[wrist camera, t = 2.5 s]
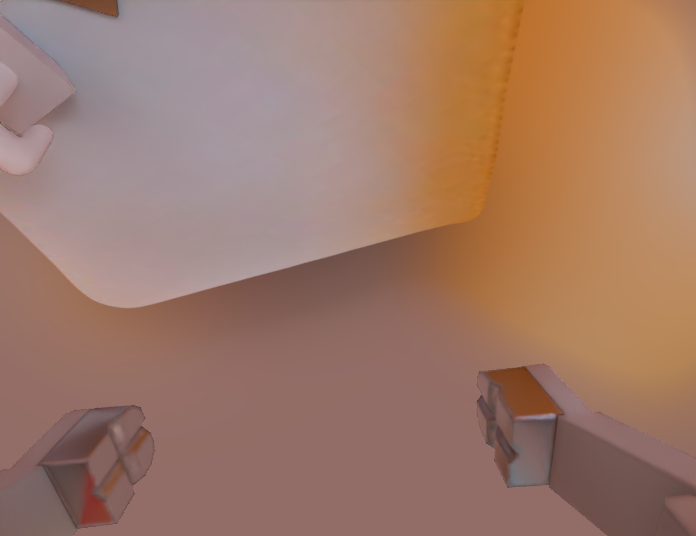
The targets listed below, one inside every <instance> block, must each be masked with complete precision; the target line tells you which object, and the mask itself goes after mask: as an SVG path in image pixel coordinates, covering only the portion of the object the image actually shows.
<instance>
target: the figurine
mask: <svg viewBox="0 0 696 536" xmlns="http://www.w3.org/2000/svg"><path fill="white" fill-rule="evenodd" d="M75 92H76V90H75V88H74V87H73V85H72V84H71V82H70V81H69V79H68V78H67V76H66V75H65V73H64V72H63V70H62V69H61V67H60V66H59V65H58V64H57V63H56V62H55V61H53V60H52V59H51V58H50V57H49V56H48V55H46V54H45V53H44V52H43V51H42V50H41V49H40V48H38V47H37V46H36V45H35V44H34V43H33V42H32V41H30V40H29V39H28V38H27V37H26V36H25V35H24V34H22V33H21V32H20V31H19V30H18V29H17V28H15V27H14V26H13V25H12V24H11V23H10V22H9V21H7V20H6V19H5V18H4V17H3V16H2V15H0V122H1V123H3V124H4V125H6V126H7V127H9V128H10V129H12V130H13V131H15V132H16V133H18V134H19V135H20V134H22V133H23V132H24V131H25V132H24V133H23V135H22V136H21V137H18V136H17V135H15V134H14V133H12V132H11V131H9V130H8V129H6V128H5V127H3V126H2V125H0V169H2V170H3V171H5V172H7V173H10V174H12V175H17V176H22V175H26V174H28V173H30V172H31V171H32V170H34V169H35V168H36V167H37V165H38V164H39V163H40V161H41V160H42V158H43V156H44V155H45V153H46V151H47V149H48V148H49V146H50V144H51V142H52V140H53V133H52V131H51V130H50V129H49V128H48V127H46V126H44V125H33V124H35V123H36V122H37V121H39V120H40V119H41V118H42V117H44V116H45V115H46V114H48V113H49V112H50V111H52V110H53V109H54V108H55V107H57V106H58V105H59V104H61V103H62V102H63V101H64V100H66V99H67V98H68V97H70V96H71V95H72V94H74V93H75ZM32 125H33V126H32Z"/></svg>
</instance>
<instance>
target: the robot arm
mask: <svg viewBox="0 0 696 536" xmlns="http://www.w3.org/2000/svg"><path fill="white" fill-rule="evenodd" d="M477 378H478V379H477V386H478V388H479V390H480V392H481V393H482V395H481V396H480V398H479V399H478V400H477V417H478V422H479V426H480V429H481V432H482V435H483V437H484V439H485V441H486V443H487V444H488V445H490V446H491V447H493V448H494V449H495V457H494V461H495V462H496V465H497V466H498V468H499V470H500V473H501V475H502V477H503V479H504V481H505V483H506V485H507V487H508V488H509V487H525V486H541V485H549V488H551V489H552V490H553V491H554V492H555V493H557V494H558V495H559V496H560V497H562V498H563V499H564V500H565V501H566V502H568V503H569V504H570V505H571V506H572V507H574V508H575V509H576V510H577V511H578V512H580V513H581V514H582V515H583V516H585V517H586V518H587V519H588V520H589V521H590V522H592V523H593V524H594V525H595V526H597V527H598V528H599V529H600V530H601V531H603V532H604V533H605V534H606V535H608V536H696V457H694V456H692V455H689V454H688V453H686V452H683V451H681V450H679V449H677V448H675V447H673V446H671V445H668V444H666V443H664V442H662V441H660V440H658V439H656V438H654V437H651V436H649V435H647V434H645V433H643V432H641V431H639V430H637V429H634V428H632V427H630V426H628V425H626V424H624V423H622V422H619V421H617V420H615V419H613V418H611V417H609V416H607V415H605V414H602V413H600V412H593V413H592V412H591V411H590V410H589V409H588V408H587V407H586V406H585V405H584V403H583V402H582V401H581V400H580V399H579V398H578V397H577V396H576V395H575V394H574V393H573V392H572V391H571V389H570V388H569V387H568V386H567V385H566V384H565V383H564V382H563V381H562V380H561V379H560V378H559V377H558V375H556V373H555V372H554V371H553V370H552V369H551V368H550V367H549V366H548V365H546V364H536V365H529V366H522V367H517V368H507V369H498V370H488V371H479V374H478V377H477ZM144 420H145V416H144V414H143V412H142V410H141V408H140V407H138V406H135V405H130V406H117V407H104V408H94V409H81V410H73V411H71V412H69V413H66V414H65V415H64V416H63V417H62V418H61V419H60V420H59V421H58V422H57V423H56V424H55V425H54V426H53V427H52V428H51V429H50V430H49V431H48V432H47V433H46V434H45V435H44V436H43V437H42V438H41V439H39V440H38V441H37V443H35V444H34V445H33V446H32V447H31V448H30V449H29V450H28V451H27V452H26V453H25V454H24V455H23V456H22V457H21V458H20V459H19V460H18V461H17V462H16V463H15V464H14V465H13V466H12V467H11V468H10V469H3V470H1V471H0V536H72V535H74V534H75V533H76V532H77V529H79V528H87V527H95V526H102V525H111V524H117V523H118V521H119V520H120V518H121V516H122V515H123V513H124V511H125V509H126V508H127V506H128V504H129V503H130V501H131V499H132V497H133V496H134V489H133V485H134V484H136V483H137V482H138V481H139V480H140V479H142V478H143V477H144V476H145V475H146V473H147V471H148V470H149V468H150V466H151V464H152V460H153V455H154V451H155V450H154V440H153V437H152V435H151V433H150V432H149V431H148V430H146V429H145V428H144V427H142V424H143V422H144Z"/></svg>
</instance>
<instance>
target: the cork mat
mask: <svg viewBox="0 0 696 536" xmlns="http://www.w3.org/2000/svg"><path fill="white" fill-rule="evenodd" d="M61 1H64V2H68V3H71V4H75V5H78V6H81V7H85V8H88V9H92V10H95V11H98V12H102V13H105V14H109V15H112V16H116V17H118V15H119V14H118V4H117V0H61Z"/></svg>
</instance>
